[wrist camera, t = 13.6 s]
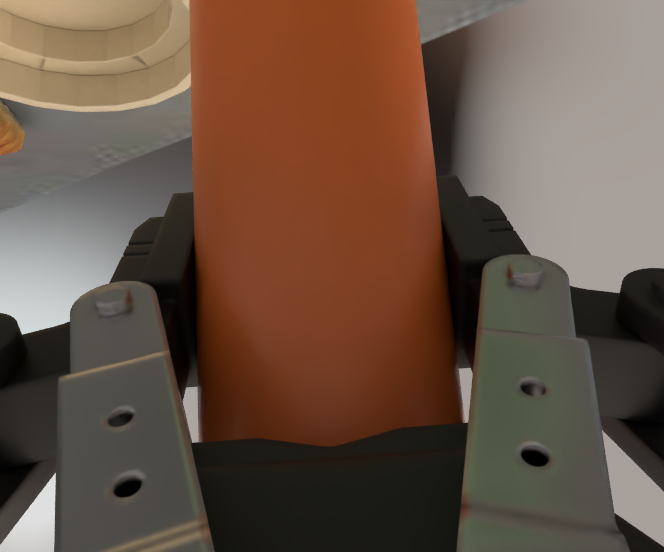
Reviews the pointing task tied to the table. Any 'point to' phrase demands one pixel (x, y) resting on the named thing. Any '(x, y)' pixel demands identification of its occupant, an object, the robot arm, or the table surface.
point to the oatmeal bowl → (94, 53)
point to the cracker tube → (316, 224)
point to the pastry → (9, 131)
